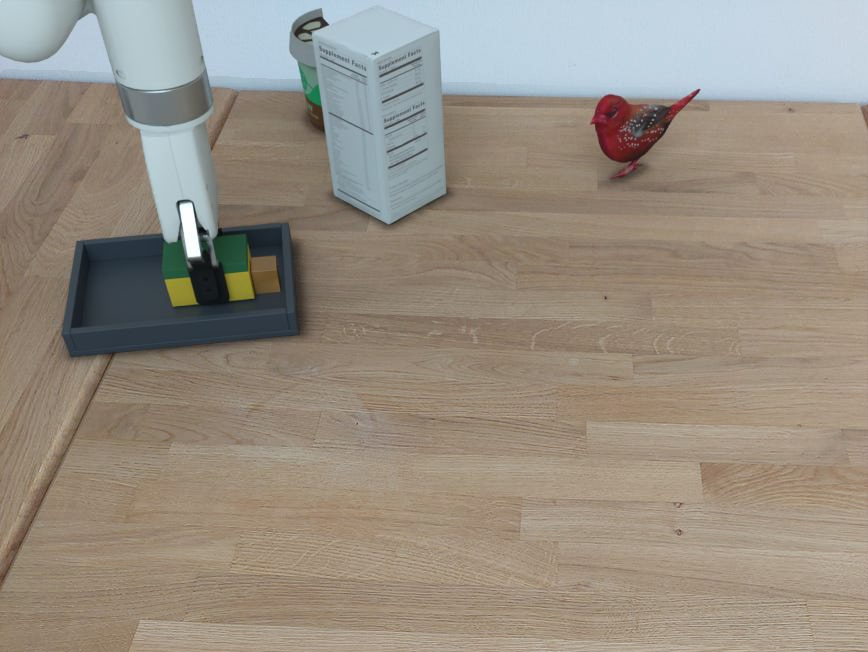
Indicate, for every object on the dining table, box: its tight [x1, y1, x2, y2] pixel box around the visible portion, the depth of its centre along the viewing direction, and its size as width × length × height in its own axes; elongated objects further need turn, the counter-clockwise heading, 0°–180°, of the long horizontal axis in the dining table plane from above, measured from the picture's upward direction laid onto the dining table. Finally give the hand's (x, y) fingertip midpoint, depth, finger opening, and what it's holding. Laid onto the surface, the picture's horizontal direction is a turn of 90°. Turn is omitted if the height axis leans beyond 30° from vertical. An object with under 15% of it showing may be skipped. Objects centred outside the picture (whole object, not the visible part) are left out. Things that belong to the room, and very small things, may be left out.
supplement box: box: [312, 4, 447, 225], centre depth 101 cm, size 10×9×17 cm
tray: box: [60, 221, 300, 358], centre depth 96 cm, size 22×16×3 cm
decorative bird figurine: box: [589, 88, 701, 180], centre depth 107 cm, size 3×18×10 cm, turn 130°
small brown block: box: [251, 256, 281, 294], centre depth 96 cm, size 2×2×2 cm
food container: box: [288, 7, 330, 133], centre depth 114 cm, size 12×6×10 cm, turn 27°
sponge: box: [162, 234, 255, 307], centre depth 95 cm, size 8×5×4 cm, turn 99°
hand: (213, 282), depth 96 cm, fingers closed on sponge, 5 cm apart
